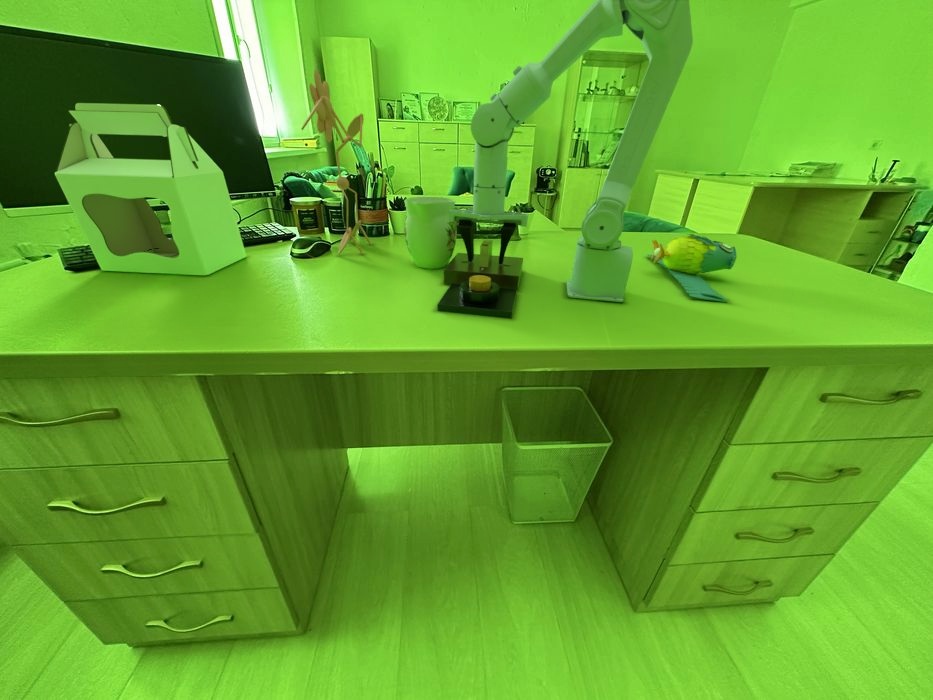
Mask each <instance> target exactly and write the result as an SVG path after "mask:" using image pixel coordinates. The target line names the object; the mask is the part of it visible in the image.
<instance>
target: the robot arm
mask: <svg viewBox="0 0 933 700" xmlns="http://www.w3.org/2000/svg"><path fill="white" fill-rule="evenodd" d="M690 6H691V5H690V0H594V2H592V4H591V5H590V6H589V7H588V8H587V9H586V10H585V11H584V13H582V15H581V16H580V17H579V18H578V19H577V20H576V22H575V23H573V25H572V26H571V27H570V28H569V30H567V31H566V33H565V34H564V35H563V36H562V37H561V38H560V39H559V40H558V41H557V42H556V44H555V45H553V47H552V48H551V49H550V50H549V52H548V53H547V54H546V55H545V56H544V57H543V58H542V59H541V61H539V62H530V61H529V62H526V64H524V65H523V66H521V65H517V66H516V68H514V70H513V71H512V74H513V75H514V76H513V77H512V78H511V79H510V80H509V81H508V83H506V84H505V86H503V88H502V89H501V90H500V91H499V92H498V93H493V94H492V95H491V96H490V97H489V100H490V102H486V103H482V104H480V105H478V107H477V109H476V111H475V112H474V114H473V115H472V117H471V122H470V132H471V135H472V138H473V139H474V158H473V159H474V160H473V161H474V163H473V192H472V194H473V195H472V197H473V198H472V209H456V208H454V209H451V210H450V211H449V222H458V225H457V229H458V230H457V231H458V232H459V235H460V236H461V238H462V241H463V243H464V247H465V249H466V253H467V255H468V262H472V261H473V259H474V254H475V246H474V245H475V243H474V242H475V230H476V229H475V228H476V224H490V225H491V224H493V225H502V226H501V228H500V250H499V255H498V256H499V264H503V260H504V256H505V255H506V251H507V248H508V246H509V243H510V241H511V239H512V237H513V235H514V234H515V232H516V229H517V226H520V227H525V228H527V226H528V221H529V220H528V218H529V213H522V212H513V211H507V210H505V204H506V203H505V202H506V190H507V189H506V187H507V173H508V152H509V151H508V150H509V142H510V141H511V139H512V137H513V136H514V131H515V128H519V127H520V126H521V125H523V123H524V122H526V121H527V119H529V118H530V117H531V116H532V115H533V114H534V113H535V112H536V111H537V110H538V109H539V108H540V107H541V106H542V105H543V104H545V103H546V101H548V100H549V99H550V97H551V93H552V86H553V83H554V82H555V81H556V80H557V79H558V78H559V77H561V75H563V73H565V72H566V71H567V70H568V69H569V68H570V67H571V66H572V65H574V64H575V63H576V62H577V61H578V60H579V59H580V58H581V57H582V56H583V55H584V54H585V53H587V52H588V51H589V50H590V49H591V48H592V47H593V46H595V44H597V42H599V41H600V40H602V39H605V38H606V39H607V38H614V37H620V36H623V33H624V32H623V31H624V29H623V28H624V27H623V26H624V25H625V27H626V28H627V30H628V31H630V32H631V33H632V34H633V35H634V36H635V37H636V38H637V39H638V40H640V41H641V42H640V43H641V45H642V47H643V50H644V52H645V54H646V56H647V58H648V61H649V63H648V66H647V69H646V71H645V74H644V77H643V78H642V81H641V84H640V87H639V89H638V92H637V95H636V97H635V99H634V103H633V105H632V108H631V110H630V112H629V116H628V119H627V121H626V124H625V126H624V129H623V131H622V134H621V136H620V140H619V142H618V145H617V147H616V150H615V152H614V155H613V158H612V161H611V163H610V166H609V168H608V171H607V173H606V176H605V179H604V181H603V184H602V187H601V189H600V192H599V194H598V197H597V199H596V200H595V202H594V203H593V204H591V205H590V207H589V208H588V209H587V211H586V214H585V216H584V217H583V220H582V223H581V226H580V227H581V230H580V231H581V237H579V238H577V243H576V248H575V254H574V260H573V266H572V272H571V276H570V277H571V278H570V280H567V281H566V293H567V297H568V298H570V299H582V300H593V301H602V302H603V301H604V302H614V303H624V300H625V299H624V296H625V294H626V293H625V292H626V289H627V285H628V280H629V278H630V272H631V269H632V264H633V257H634V253H633V248H632V247H631V246H627V245H622V240H620V237H621V236H622V233H623V232H624V231H623V230H624V213H625V210H626V208H627V206H628V203H629V200H630V196H631V193H632V191H633V188H634V185H635V183H636V181H637V178H638V176H639V174H640V171H641V169H642V167H643V165H644V163H645V159H646V157H647V155H648V153H649V150H650V148H651V146H652V144H653V141H654V138H655V136H656V134H657V131H658V130H659V126H660V124H661V122H662V120H663V117H664V114H665V112H666V111H667V108H668V105H669V103H670V100H671V97H672V96H673V94H674V91H675V89H676V86H677V84H678V82H679V79H680V77H681V75H682V72H683V70H684V68H685V66H686V63H687V61H688V59H689V56H690V54H691V51H692V48H693V42H694V41H693V40H694V38H693V27H692V15H691V7H690Z"/></svg>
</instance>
